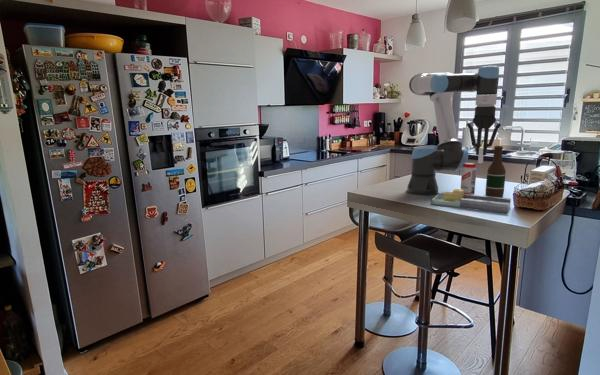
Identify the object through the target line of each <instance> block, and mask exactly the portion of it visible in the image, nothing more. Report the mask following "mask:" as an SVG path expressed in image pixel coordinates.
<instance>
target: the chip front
mask: <svg viewBox="0 0 600 375" xmlns="http://www.w3.org/2000/svg"><path fill="white" fill-rule="evenodd" d="M452 192H453V200H460V199H461V198H464V189H461V188H458V189H457V188H454V189H453V190H452Z"/></svg>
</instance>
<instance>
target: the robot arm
mask: <svg viewBox="0 0 600 375" xmlns="http://www.w3.org/2000/svg"><path fill="white" fill-rule="evenodd" d="M499 78H500V67H499V66H498V65H486V66H480V67H479V68H478V71H477V73H474V72H473V73H452V72H446V71H442V72H420V73H417V74H415V75H413V76H412V77H411V79H410V80H409V83H408V88H409V90H410V92H411V93H413V94H414V95H418V96H429V100H430V101H431V102H432V103H433V107H434V113H435V121H436V127H437V133H438V142H439V143H438V144H437V145H434V144H430V145H429V144H428V145H420V146H416V147H415V148H413V150H412V153H411V176H410V178H409V181H408V184H407V188H406V191H407V193H410V194H413V195H421V196H427V195H428V196H433V195H438V193H439V185H438V183H437V179H436V174H437V173H436V172H450V171H451V172H452V171H453V172H455V171H462V166H463V165H464V163H466V162H468V160H469V151H468V149H467V147H465V146H462V141H460V140H459V139H458V135H457V128H456V121H455V116H454V109H453V103H452V98H453V96H454V94H455V93H474V92H476V95H475V107H474V116H473V118H472V121H470V122H468V123H467V124H466V126H467V128H468V130H469V136H470V142H471V146H472V147H475V148H476V149H475V150H476V151H475V155H476V156H477V157H478V160H477V163H478V164H483V163H484V156H486V155H487V152H488V151H487V150H488V148H489V147H491V146H492V145H493V143H494V141H495V139H496V135H497V133H498V131H499V129H500V128H501V127H502V123H501V122H498V121H497V120H496V119H497V118H496V108H497V107H496V104H497V98H498V88H499ZM474 126H476V128H477V135H476V137H475V132H474V131H475V130H474ZM492 126H494V128H493V131H492V134H491V137H490V139H489V131H490V128H491V127H492ZM483 130H484V133H483V134H484V136H483V146H481V144H482V131H483ZM488 141H489V142H488Z"/></svg>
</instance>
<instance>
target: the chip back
mask: <svg viewBox="0 0 600 375" xmlns="http://www.w3.org/2000/svg"><path fill="white" fill-rule="evenodd" d="M443 195H444V201H449V202H454V201H455V200H453V191H444V193H443Z"/></svg>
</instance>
